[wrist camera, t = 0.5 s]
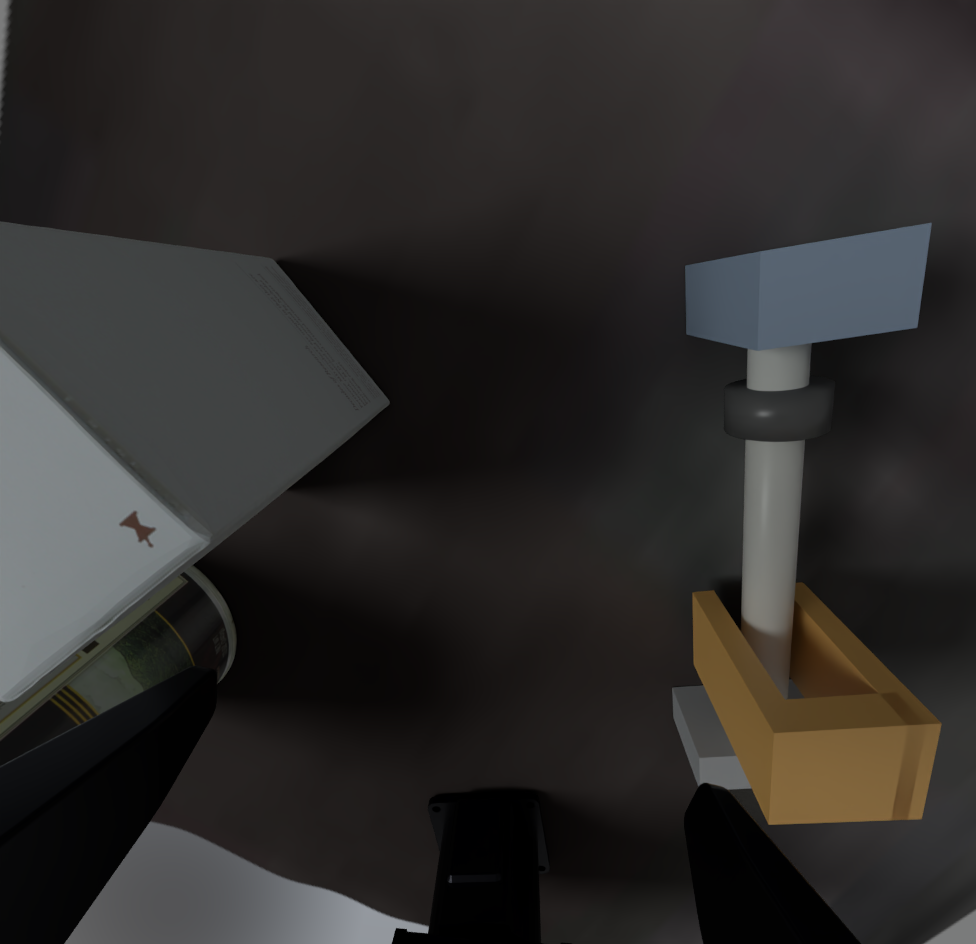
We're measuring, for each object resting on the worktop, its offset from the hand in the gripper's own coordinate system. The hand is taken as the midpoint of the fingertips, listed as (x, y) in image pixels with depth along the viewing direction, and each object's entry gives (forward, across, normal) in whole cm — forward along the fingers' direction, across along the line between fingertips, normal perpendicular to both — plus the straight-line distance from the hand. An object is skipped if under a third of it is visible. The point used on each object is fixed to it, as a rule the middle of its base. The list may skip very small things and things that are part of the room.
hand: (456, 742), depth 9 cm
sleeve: (+12, -13, +3) cm, 18 cm away
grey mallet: (+14, -11, -1) cm, 17 cm away
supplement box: (+14, +10, -2) cm, 17 cm away
